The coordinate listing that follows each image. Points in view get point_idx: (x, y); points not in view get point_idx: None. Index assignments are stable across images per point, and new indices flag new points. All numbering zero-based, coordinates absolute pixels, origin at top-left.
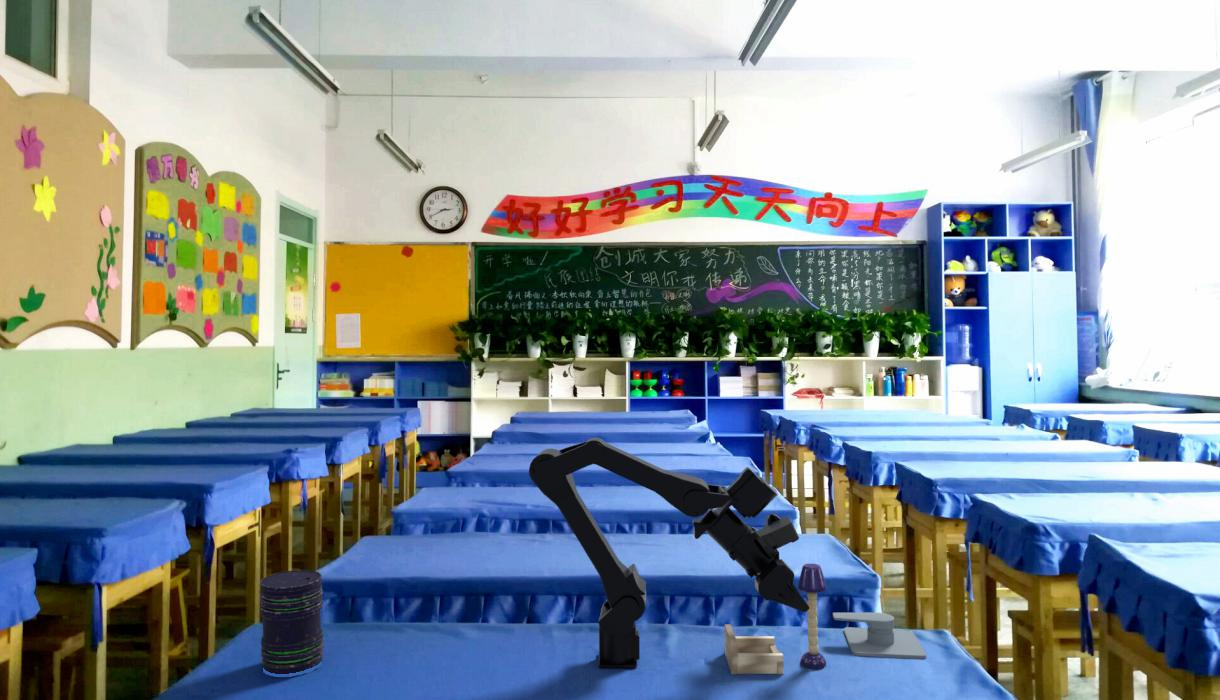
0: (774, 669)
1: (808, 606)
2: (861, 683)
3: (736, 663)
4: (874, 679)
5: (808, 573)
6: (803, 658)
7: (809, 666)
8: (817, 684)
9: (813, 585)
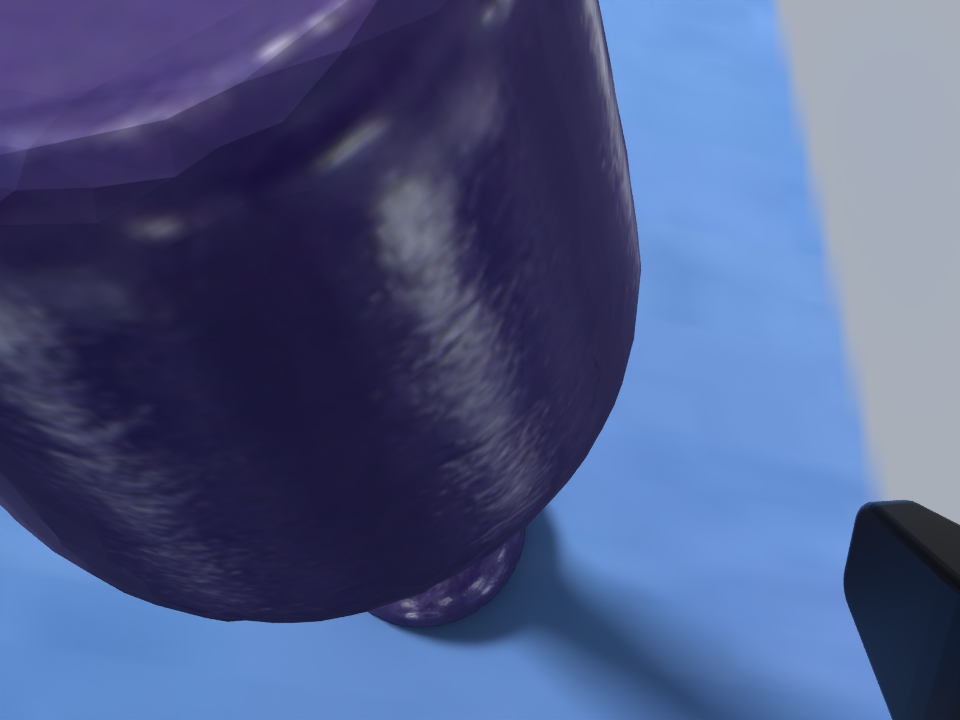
0: None
1: (943, 517)
2: (735, 252)
3: None
4: (659, 161)
5: (549, 171)
6: (450, 604)
7: (513, 566)
8: (805, 556)
9: (634, 228)
